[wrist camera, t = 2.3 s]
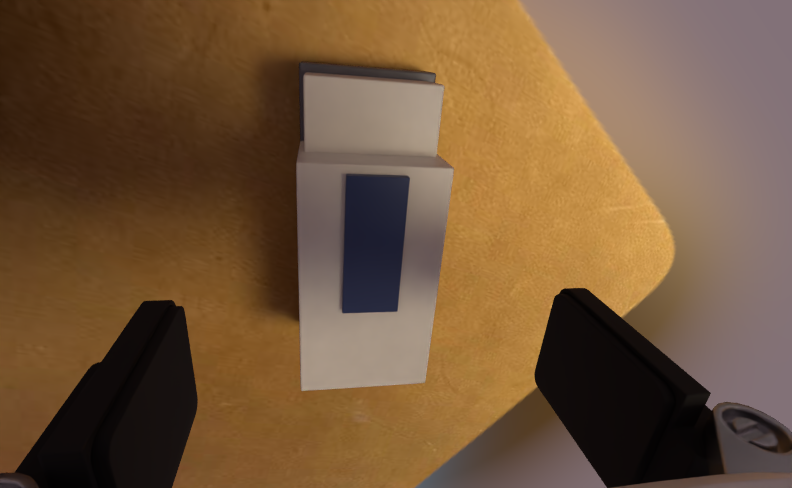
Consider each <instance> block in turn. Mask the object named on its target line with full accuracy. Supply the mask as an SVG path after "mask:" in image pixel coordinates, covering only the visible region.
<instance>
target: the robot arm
mask: <svg viewBox="0 0 792 488" xmlns="http://www.w3.org/2000/svg"><path fill="white" fill-rule="evenodd" d="M535 382H536V384H537V386H538V388H539V389H540V391H541V392H542V394H543V395H544V397H545V398H546V399H547V401H548V402H549V404H550V405H551V407H552V408H553V410H554V411H555V413H556V414H557V416H558V417H559V418H560V420H561V421H562V423H563V424H564V426H565V427H566V429H567V430H568V431H569V433H570V434H571V436H572V437H573V439H574V440H575V441H576V443H577V445H578V446H579V448H580V449H581V450H582V452H583V453H584V455H585V456H586V458H587V459H588V461H589V462H590V463H591V465H592V466H593V468H594V469H595V471H596V472H597V474H598V475H599V477H600V478H601V480H602V481H603V482H604V484H605V485H606V487H607V488H792V432H791V431H790V430H789V429H788V428H787V427H786V426H784V425H783V424H781V423H780V422H779V421H777V420H776V419H774V418H772V417H771V416H769V415H767V414H765V413H763V412H761V411H759V410H756V409H754V408H752V407H749V406H746V405H742V404H738V403H731V402H724V403H719V404H717V405H716V406H715V407H714V408H713V410H712V411H711V410H710V409H709V408H708V407H707V406H706V405H705V404H706V402H707V400H708V398H709V396H710V394H711V393H710V392H709V391H708V390H706V389H705V388H704V387H703V386H702V385H701V384H699V383H698V382H697V381H696V380H695V379H693V378H692V377H691V376H690V375H688V374H687V373H686V372H685V371H684V370H683V369H681V368H680V367H679V366H678V365H677V364H676V363H674V362H673V361H672V360H671V359H670V358H668V357H667V356H666V355H665V354H663V353H662V352H661V351H660V350H659V349H658V348H656V347H655V346H654V345H653V344H652V343H651V342H649V341H648V340H647V339H646V338H645V337H643V336H642V335H641V334H640V333H639V332H637V331H636V330H635V329H634V328H633V327H632V326H630V325H629V324H628V323H627V322H625V321H624V320H623V319H622V318H621V317H620V316H618V315H617V314H616V313H615V312H614V311H612V310H611V309H610V308H609V307H608V306H607V305H605V304H604V303H603V302H602V301H601V300H599V299H598V298H597V297H596V296H595V295H593V294H592V293H591V292H590V291H589V290H587V289H585V288H569V289H563V290H561V292H560V293H559V294H558V295H556V296H555V298H554V301H553V305H552V308H551V312H550V316H549V320H548V324H547V327H546V331H545V335H544V339H543V343H542V346H541V350H540V354H539V358H538V362H537V365H536V369H535ZM196 411H197V391H196V384H195V378H194V371H193V364H192V358H191V351H190V344H189V338H188V331H187V324H186V318H185V312H184V308H183V307H182V306H176V305H175V303H174V301H172V300H162V301H144V302H143V303H142V304H141V305H140V307H139V308H138V310H137V311H136V312H135V314H134V315H133V317H132V318H131V320H130V321H129V323H128V324H127V325H126V327H125V328H124V330H123V331H122V333H121V334H120V336H119V337H118V338H117V340H116V341H115V343H114V344H113V346H112V347H111V349H110V350H109V352H108V353H107V354H106V356H105V357H104V359H103V360H102V362H100V363H96V364H94V365H92V366H91V367H90V368H89V369H88V371H87V372H86V373H85V375H84V376H83V378H82V379H81V380H80V382H79V383H78V385H77V386H76V387H75V389H74V390H73V392H72V393H71V394H70V396H69V397H68V399H67V400H66V401H65V403H64V404H63V406H62V407H61V408H60V410H59V411H58V413H57V414H56V415H55V417H54V418H53V420H52V421H51V422H50V424H49V425H48V426H47V428H46V429H45V431H44V432H43V433H42V435H41V436H40V438H39V439H38V440H37V442H36V443H35V445H34V446H33V447H32V449H31V450H30V452H29V453H28V454H27V456H26V457H25V459H24V460H23V461H22V463H21V464H20V466H19V467H18V468H17V470H16V471H15V473H0V488H172V486H173V482H174V479H175V476H176V473H177V470H178V467H179V464H180V461H181V458H182V455H183V452H184V449H185V446H186V442H187V439H188V436H189V433H190V430H191V427H192V424H193V421H194V418H195V415H196Z"/></svg>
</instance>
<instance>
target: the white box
mask: <svg viewBox="0 0 792 488" xmlns="http://www.w3.org/2000/svg"><path fill="white" fill-rule="evenodd" d="M435 78H436V74H435V73H432V72H426V71H413V70H401V69H388V68H376V67H363V66H351V65H338V64H326V63H314V62H300V63H299V101H300V145H299V151H298V156H297V161H296V186H297V233H298V280H299V328H300V375H301V391H308V390H324V389H339V388H354V387H369V386H385V385H400V384H415V383H425V379H426V372H427V364H428V357H429V349H430V342H431V335H432V327H433V320H434V313H435V305H436V298H437V291H438V283H439V276H440V269H441V261H442V254H443V247H444V239H445V232H446V225H447V217H448V210H449V202H450V195H451V188H452V180H453V173H454V168H453V167H452V166H451V165H449V164H448V163H447V162H446V161H445V160H443V159H442V158H441V157H440V156H439V155H438V154H437V147H438V138H439V129H440V121H441V112H442V104H443V95H444V85H441V84H437V83H435Z"/></svg>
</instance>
